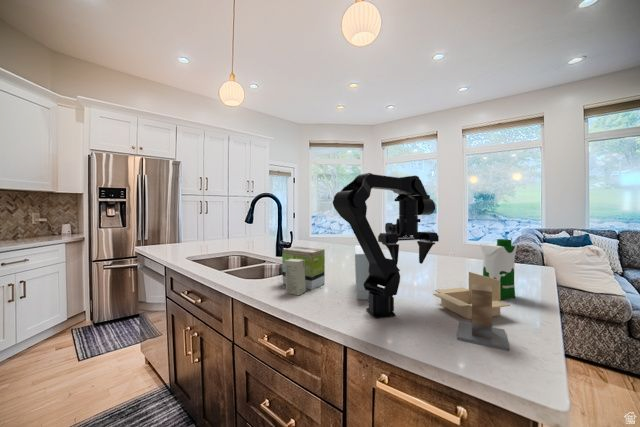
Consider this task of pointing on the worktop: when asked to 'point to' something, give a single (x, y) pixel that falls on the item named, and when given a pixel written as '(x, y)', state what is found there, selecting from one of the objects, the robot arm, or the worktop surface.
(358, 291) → the skincare box
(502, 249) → the milk carton
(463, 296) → the cardboard carton
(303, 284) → the skincare box
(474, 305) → the walnut box
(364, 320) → the worktop surface
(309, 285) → the tea box
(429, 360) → the worktop surface
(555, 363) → the worktop surface
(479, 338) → the slate coaster
